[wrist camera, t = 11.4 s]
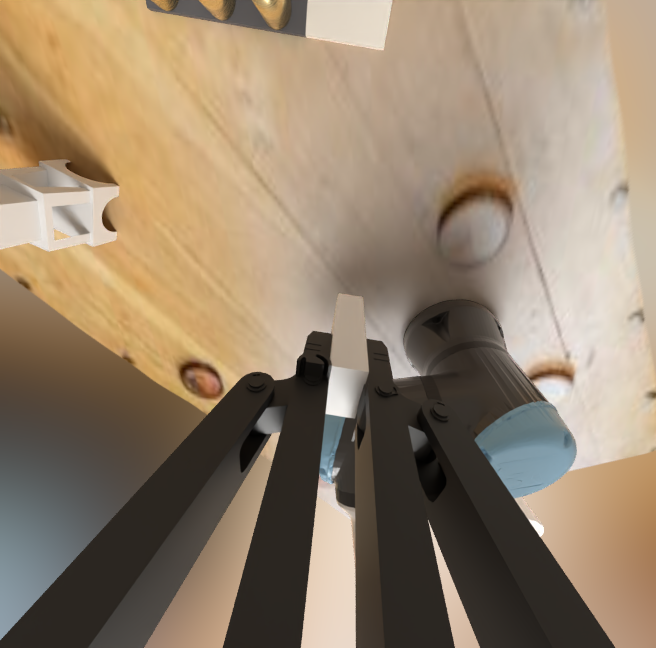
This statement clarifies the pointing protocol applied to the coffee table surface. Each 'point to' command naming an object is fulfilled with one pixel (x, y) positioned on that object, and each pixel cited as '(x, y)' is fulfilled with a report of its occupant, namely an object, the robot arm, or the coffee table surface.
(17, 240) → the sculpture
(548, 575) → the robot arm
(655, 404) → the coffee table surface
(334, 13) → the mat
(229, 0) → the spacers
